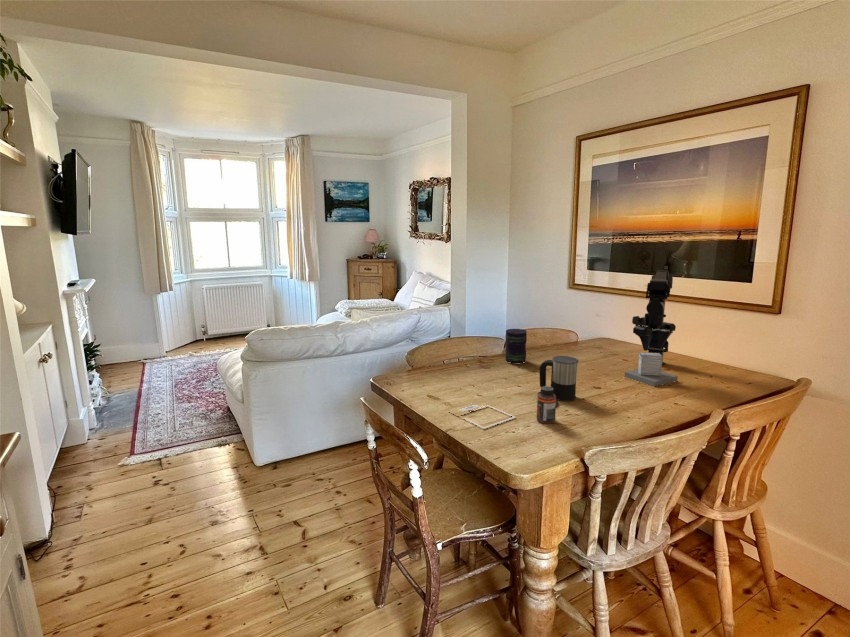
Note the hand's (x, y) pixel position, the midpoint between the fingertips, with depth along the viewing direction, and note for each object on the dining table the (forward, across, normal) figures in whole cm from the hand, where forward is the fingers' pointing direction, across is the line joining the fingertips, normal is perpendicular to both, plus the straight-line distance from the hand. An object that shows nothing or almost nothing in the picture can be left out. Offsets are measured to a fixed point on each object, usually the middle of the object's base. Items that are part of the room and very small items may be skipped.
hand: (652, 349), depth 185 cm
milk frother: (+13, +50, -1) cm, 51 cm away
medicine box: (+11, +1, 0) cm, 11 cm away
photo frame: (+14, +82, -3) cm, 83 cm away
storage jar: (+13, +32, -48) cm, 59 cm away
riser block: (+14, 0, 0) cm, 14 cm away
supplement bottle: (+13, +66, +11) cm, 68 cm away
